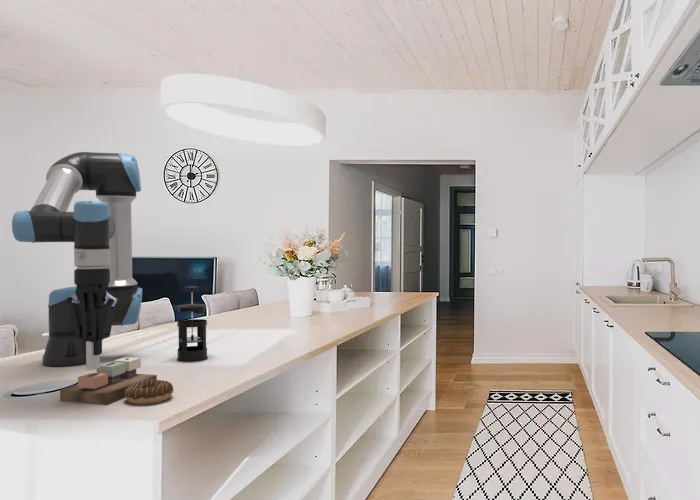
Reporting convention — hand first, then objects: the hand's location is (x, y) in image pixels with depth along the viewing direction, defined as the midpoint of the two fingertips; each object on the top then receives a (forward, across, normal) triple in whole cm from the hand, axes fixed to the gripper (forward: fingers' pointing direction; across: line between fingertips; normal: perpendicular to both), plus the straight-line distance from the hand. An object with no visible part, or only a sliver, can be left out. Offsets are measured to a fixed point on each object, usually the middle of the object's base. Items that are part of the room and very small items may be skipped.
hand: (93, 368), depth 126 cm
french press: (+8, -2, +46) cm, 46 cm away
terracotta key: (+4, 0, 0) cm, 4 cm away
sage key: (+3, 0, +6) cm, 6 cm away
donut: (+7, +13, +3) cm, 15 cm away
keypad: (+7, 0, +6) cm, 9 cm away
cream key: (+3, 0, +12) cm, 12 cm away
